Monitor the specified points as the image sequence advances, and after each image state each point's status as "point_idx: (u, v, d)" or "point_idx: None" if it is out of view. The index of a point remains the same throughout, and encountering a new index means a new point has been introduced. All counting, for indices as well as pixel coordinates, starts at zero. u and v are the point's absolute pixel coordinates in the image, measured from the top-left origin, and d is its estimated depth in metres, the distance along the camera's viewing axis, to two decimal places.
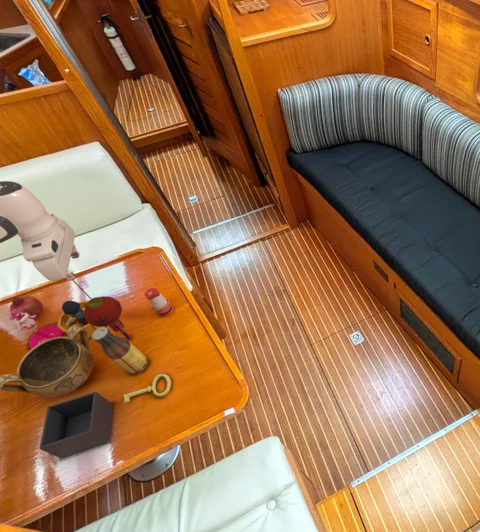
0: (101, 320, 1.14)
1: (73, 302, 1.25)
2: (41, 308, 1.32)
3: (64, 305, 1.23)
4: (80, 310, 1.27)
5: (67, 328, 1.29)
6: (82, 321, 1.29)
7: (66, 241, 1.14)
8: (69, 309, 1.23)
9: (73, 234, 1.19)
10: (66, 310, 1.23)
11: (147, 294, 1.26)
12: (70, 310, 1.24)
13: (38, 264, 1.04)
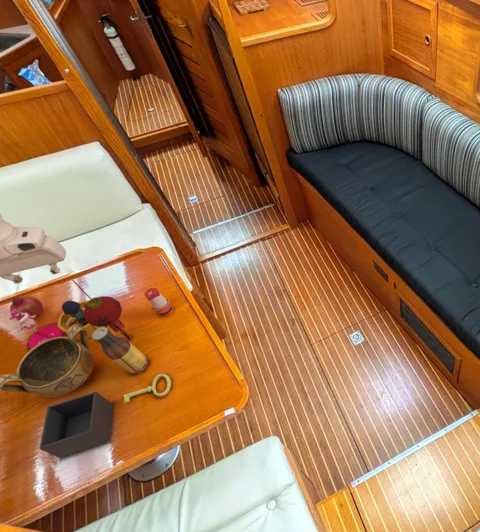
0: (100, 320, 1.14)
1: (73, 302, 1.25)
2: (41, 308, 1.32)
3: (64, 305, 1.23)
4: (80, 310, 1.27)
5: (67, 328, 1.29)
6: (82, 321, 1.29)
7: None
8: (69, 309, 1.23)
9: None
10: (66, 310, 1.23)
11: (147, 294, 1.26)
12: (70, 310, 1.24)
13: (47, 244, 1.07)
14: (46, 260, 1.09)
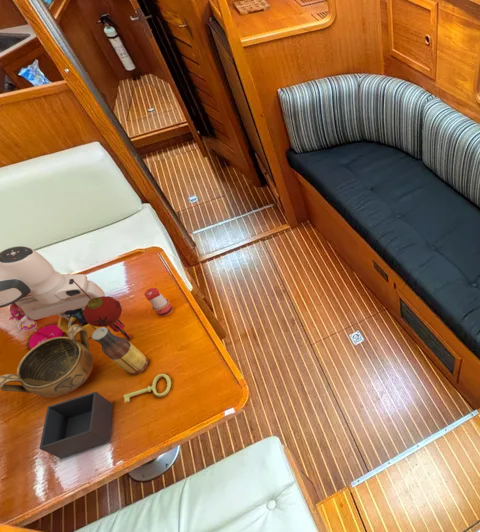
0: (100, 320, 1.14)
1: None
2: None
3: None
4: (79, 309, 1.28)
5: (67, 328, 1.29)
6: (83, 321, 1.29)
7: None
8: None
9: None
10: None
11: (147, 294, 1.26)
12: (71, 310, 1.24)
13: (90, 289, 1.21)
14: None
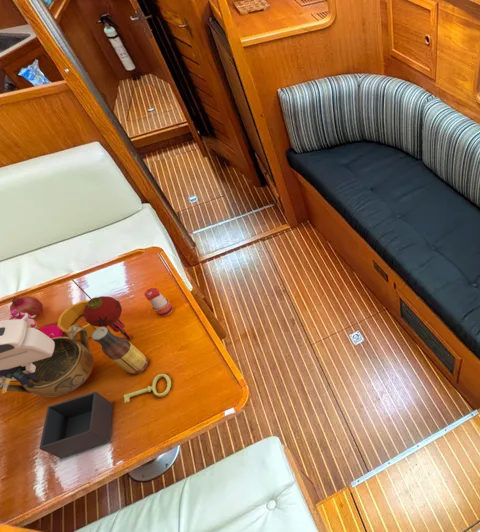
0: (100, 320, 1.14)
1: None
2: (41, 308, 1.32)
3: None
4: (20, 366, 0.90)
5: (67, 328, 1.29)
6: (26, 381, 0.92)
7: None
8: None
9: None
10: None
11: (147, 294, 1.26)
12: (5, 369, 0.87)
13: (30, 340, 0.84)
14: (29, 358, 0.87)
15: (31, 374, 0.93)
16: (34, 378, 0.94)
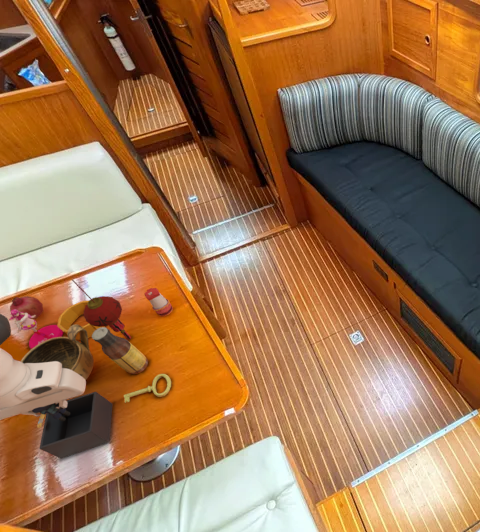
0: (100, 320, 1.14)
1: None
2: (41, 308, 1.32)
3: None
4: None
5: (67, 328, 1.29)
6: (58, 415, 0.99)
7: None
8: None
9: None
10: None
11: (147, 294, 1.26)
12: None
13: (65, 381, 0.91)
14: (63, 396, 0.94)
15: (63, 409, 1.00)
16: (65, 412, 1.01)
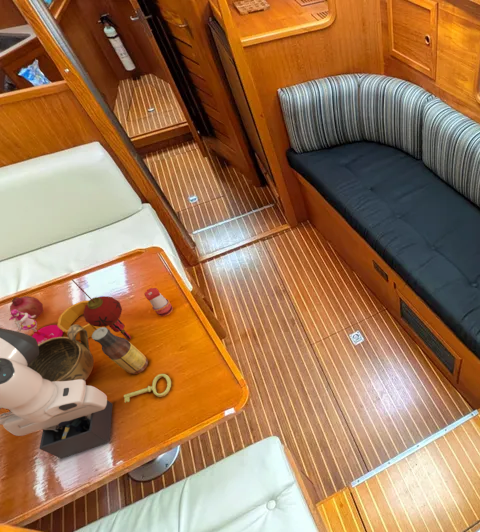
0: (100, 320, 1.14)
1: None
2: (41, 308, 1.32)
3: None
4: None
5: (67, 328, 1.29)
6: (80, 428, 1.06)
7: None
8: None
9: None
10: None
11: (147, 294, 1.26)
12: None
13: (89, 398, 0.98)
14: (86, 411, 1.01)
15: (85, 422, 1.07)
16: (87, 425, 1.08)
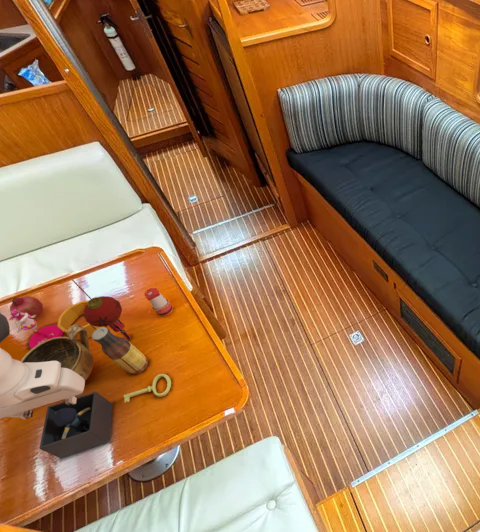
0: (100, 320, 1.14)
1: (67, 409, 1.01)
2: (41, 308, 1.32)
3: (57, 416, 1.00)
4: (76, 416, 1.04)
5: (67, 328, 1.29)
6: (80, 428, 1.06)
7: None
8: (65, 419, 1.00)
9: None
10: (61, 421, 1.00)
11: (147, 294, 1.26)
12: (66, 420, 1.00)
13: (64, 381, 0.91)
14: (62, 396, 0.93)
15: (85, 422, 1.07)
16: (87, 425, 1.08)
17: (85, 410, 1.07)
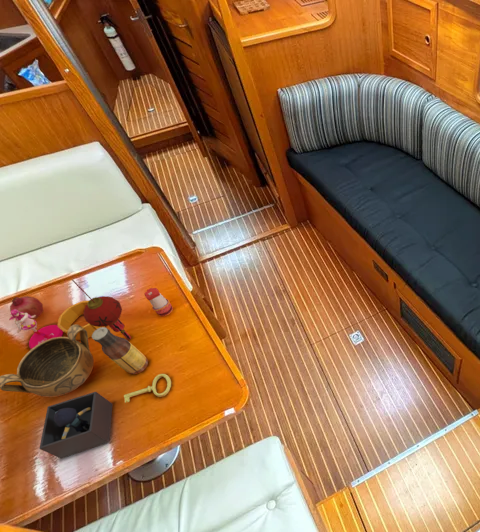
0: (100, 320, 1.14)
1: (67, 409, 1.01)
2: (41, 308, 1.32)
3: (57, 416, 1.00)
4: (76, 416, 1.04)
5: (67, 328, 1.29)
6: (80, 428, 1.06)
7: None
8: (65, 419, 1.00)
9: None
10: (61, 421, 1.00)
11: (147, 294, 1.26)
12: (66, 420, 1.00)
13: None
14: None
15: (85, 422, 1.07)
16: (87, 425, 1.08)
17: (85, 410, 1.07)
